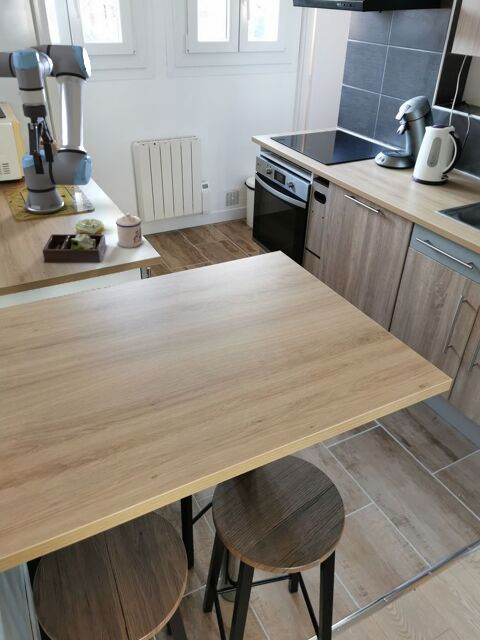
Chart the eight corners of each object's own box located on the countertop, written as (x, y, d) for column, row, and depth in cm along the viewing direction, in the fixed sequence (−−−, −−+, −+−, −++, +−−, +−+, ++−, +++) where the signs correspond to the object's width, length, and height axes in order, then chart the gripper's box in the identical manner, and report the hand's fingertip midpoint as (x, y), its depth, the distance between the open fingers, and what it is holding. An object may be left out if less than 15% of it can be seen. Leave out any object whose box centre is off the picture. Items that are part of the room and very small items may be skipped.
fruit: (76, 263, 180) (68, 243, 176) (72, 254, 187) (64, 234, 183) (102, 254, 182) (94, 234, 178) (97, 246, 190) (89, 226, 185)
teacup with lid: (138, 249, 189) (136, 219, 183) (114, 247, 190) (111, 217, 184) (147, 235, 199) (145, 207, 193) (125, 233, 200) (122, 205, 194)
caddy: (53, 245, 190) (51, 234, 187) (105, 245, 191) (104, 234, 188) (44, 262, 179) (42, 250, 176) (100, 262, 180) (98, 250, 178)
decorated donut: (96, 238, 196) (95, 229, 194) (71, 234, 198) (69, 225, 196) (109, 227, 204) (107, 218, 202) (84, 224, 206) (83, 215, 204)
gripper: (32, 95, 179) (43, 157, 191) (10, 111, 158) (24, 179, 170) (54, 96, 179) (64, 157, 191) (35, 111, 159) (47, 179, 170)
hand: (45, 167), depth 181 cm, fingers open, 13 cm apart
